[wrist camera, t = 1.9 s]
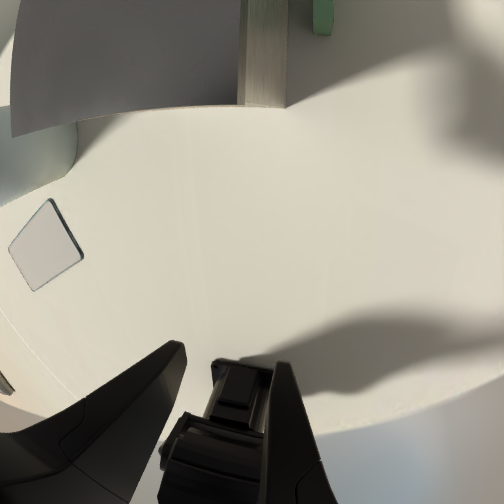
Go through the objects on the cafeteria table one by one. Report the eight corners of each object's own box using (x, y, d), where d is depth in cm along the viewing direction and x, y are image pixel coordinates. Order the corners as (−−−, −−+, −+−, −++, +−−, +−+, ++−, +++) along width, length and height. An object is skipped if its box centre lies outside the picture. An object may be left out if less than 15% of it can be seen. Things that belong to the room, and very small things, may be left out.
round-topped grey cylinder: (82, 178, 20) (-2, 220, 13) (33, 181, 22) (-36, 216, 14) (76, 89, 17) (-17, 103, 9) (26, 107, 18) (-49, 127, 10)
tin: (286, 110, 15) (237, 104, 5) (161, 111, 17) (11, 138, 7) (290, -8, 12) (249, -131, 1) (165, 4, 13) (34, -47, 3)
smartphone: (84, 258, 24) (33, 292, 30) (87, 255, 25) (35, 290, 30) (49, 196, 22) (7, 248, 27) (53, 194, 22) (9, 246, 28)
